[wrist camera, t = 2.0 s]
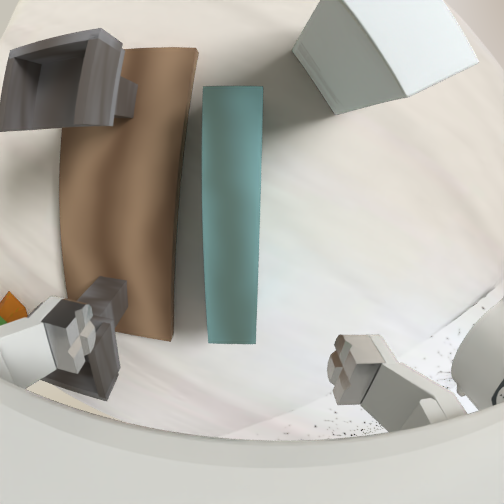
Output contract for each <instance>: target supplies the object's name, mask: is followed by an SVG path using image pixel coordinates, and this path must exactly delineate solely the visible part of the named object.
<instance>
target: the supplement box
mask: <svg viewBox="0 0 504 504" xmlns="http://www.w3.org/2000/svg"><path fill="white" fill-rule="evenodd" d="M292 52H293V53H294V54H295V56H296V57H297V58H298V60H299V61H300V63H301V64H302V66H303V67H304V68H305V70H306V71H307V73H308V74H309V76H310V77H311V79H312V80H313V82H314V83H315V85H316V86H317V88H318V89H319V91H320V92H321V94H322V95H323V97H324V98H325V100H326V101H327V103H328V105H329V106H330V108H331V109H332V111H333V113H334V114H335V115H339V114H342V113H346V112H349V111H353V110H357V109H361V108H364V107H368V106H372V105H376V104H380V103H384V102H388V101H392V100H397V99H401V98H408V97H410V96H412V95H415V94H417V93H419V92H421V91H423V90H425V89H427V88H429V87H431V86H433V85H435V84H437V83H439V82H441V81H443V80H445V79H447V78H449V77H451V76H453V75H455V74H457V73H459V72H461V71H464V70H466V69H468V68H470V67H472V66H474V65H476V64H478V63H479V61H478V59H477V57H476V55H475V53H474V51H473V49H472V47H471V45H470V43H469V41H468V40H467V38H466V36H465V34H464V33H463V31H462V29H461V28H460V26H459V24H458V23H457V21H456V19H455V18H454V16H453V15H452V13H451V12H450V10H449V9H448V7H447V6H446V4H445V3H444V1H443V0H320V2H319V4H318V5H317V7H316V9H315V10H314V12H313V14H312V15H311V17H310V19H309V21H308V22H307V24H306V26H305V27H304V29H303V31H302V33H301V35H300V36H299V38H298V40H297V41H296V43H295V45H294V47H293V49H292Z"/></svg>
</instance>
